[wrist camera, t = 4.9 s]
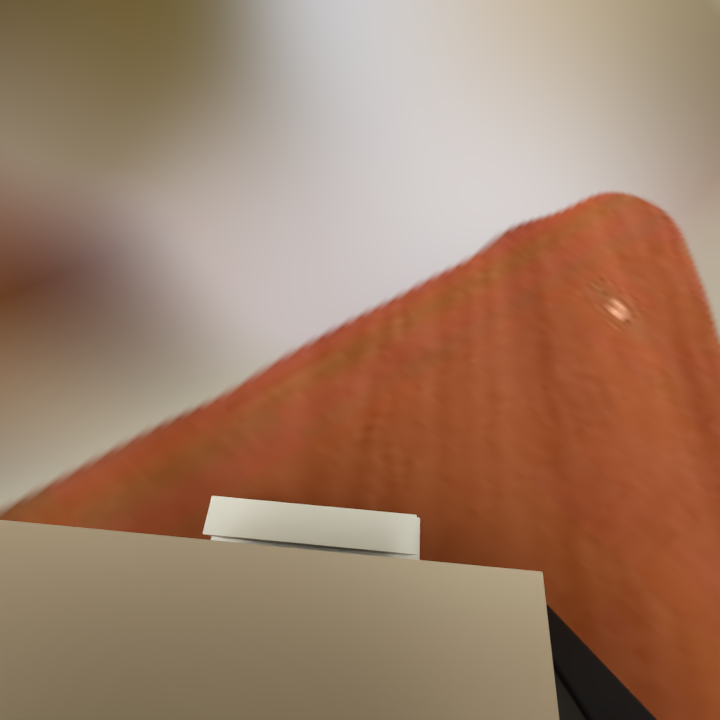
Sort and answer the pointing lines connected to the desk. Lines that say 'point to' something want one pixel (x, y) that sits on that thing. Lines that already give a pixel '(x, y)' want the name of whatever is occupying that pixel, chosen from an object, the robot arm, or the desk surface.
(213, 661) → the grey brown wooden board
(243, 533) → the offcut rack
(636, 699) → the robot arm
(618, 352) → the desk surface
